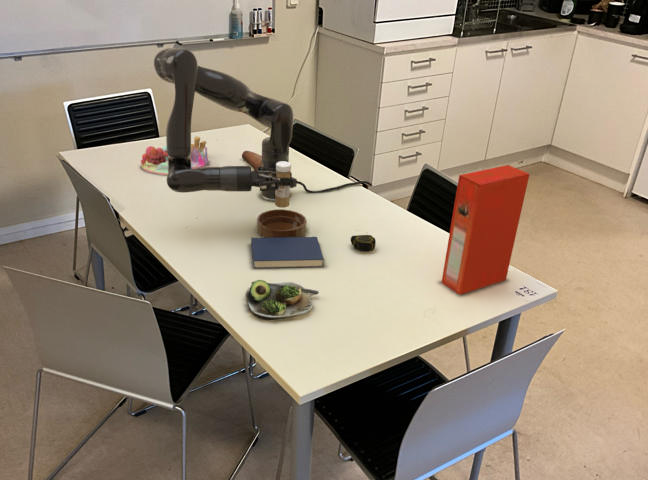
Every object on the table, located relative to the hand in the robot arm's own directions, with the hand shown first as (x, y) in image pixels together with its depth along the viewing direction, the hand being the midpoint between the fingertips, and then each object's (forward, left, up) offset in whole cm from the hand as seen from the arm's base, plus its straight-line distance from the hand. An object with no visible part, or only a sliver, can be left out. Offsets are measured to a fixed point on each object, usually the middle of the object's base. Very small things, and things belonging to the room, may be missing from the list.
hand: (292, 178), depth 200 cm
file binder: (-18, +56, -18) cm, 62 cm away
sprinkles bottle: (+2, -2, -9) cm, 9 cm away
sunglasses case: (-30, -49, -18) cm, 61 cm away
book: (+12, +11, -18) cm, 24 cm away
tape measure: (-9, +22, -18) cm, 30 cm away
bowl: (+2, -2, -18) cm, 18 cm away
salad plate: (+32, +28, -18) cm, 46 cm away
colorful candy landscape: (-7, -71, -18) cm, 74 cm away
